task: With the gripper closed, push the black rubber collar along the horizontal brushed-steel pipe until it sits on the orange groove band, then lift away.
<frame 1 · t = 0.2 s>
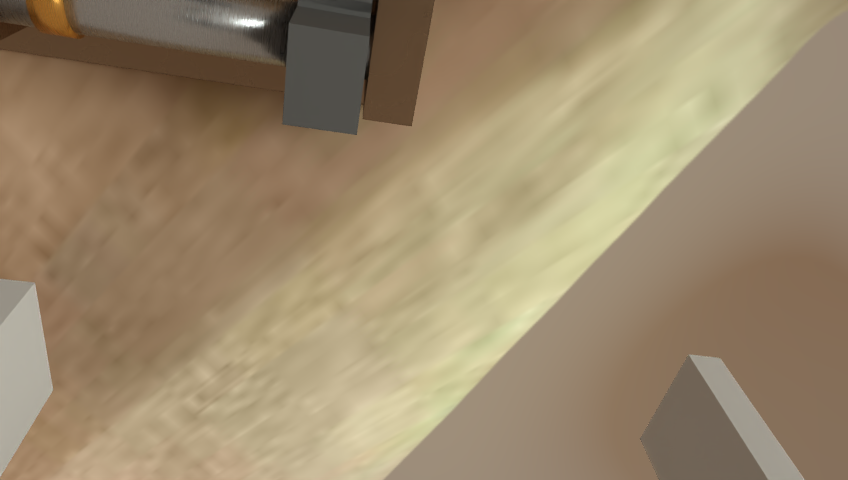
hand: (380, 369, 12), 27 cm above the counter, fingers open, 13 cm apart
collar: (331, 50, 27), point 8 cm above the counter, slide at 0.0 cm
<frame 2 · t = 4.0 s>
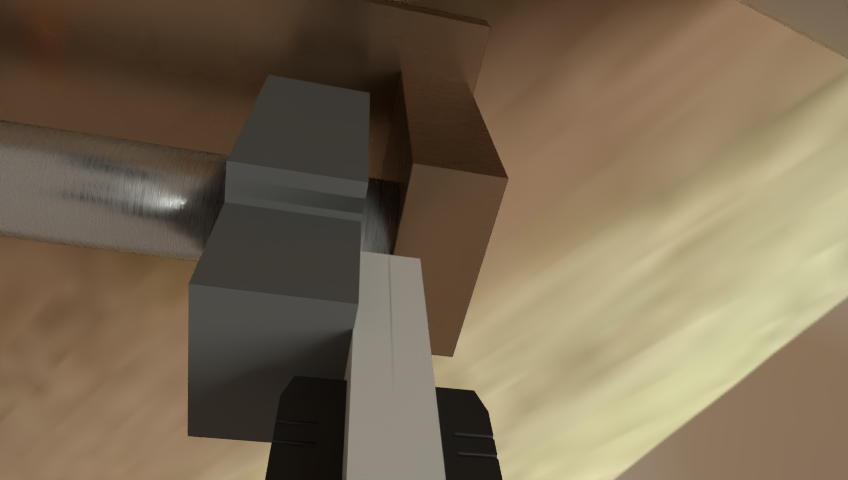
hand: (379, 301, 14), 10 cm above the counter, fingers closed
collar: (293, 249, 16), point 9 cm above the counter, slide at 0.8 cm, touching gripper
pipe rig: (146, 98, 22), on the counter
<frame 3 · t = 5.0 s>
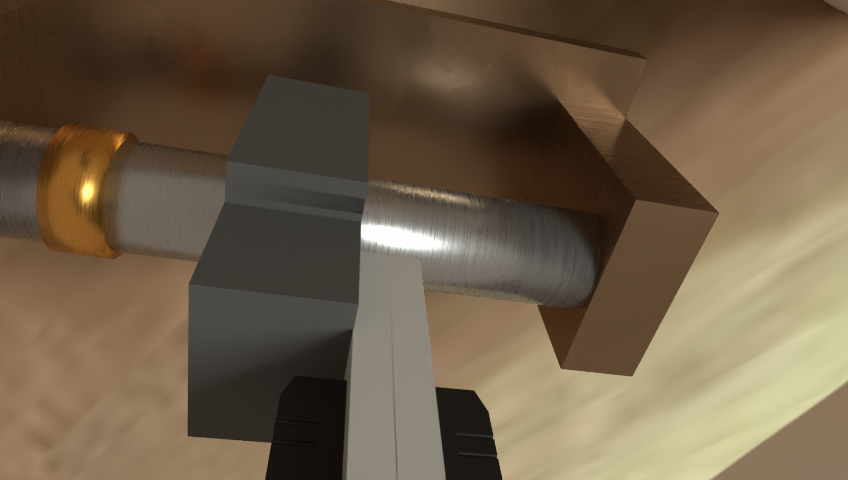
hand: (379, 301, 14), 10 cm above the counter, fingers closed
collar: (293, 249, 16), point 8 cm above the counter, slide at 6.7 cm, touching gripper
pipe rig: (308, 125, 23), on the counter
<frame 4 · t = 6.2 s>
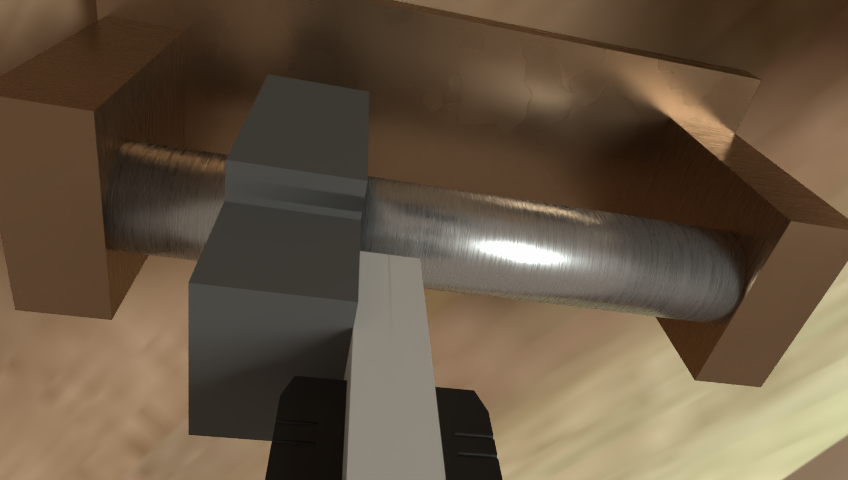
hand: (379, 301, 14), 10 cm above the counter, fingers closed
collar: (293, 248, 16), point 8 cm above the counter, slide at 11.2 cm, touching gripper
pipe rig: (426, 144, 23), on the counter
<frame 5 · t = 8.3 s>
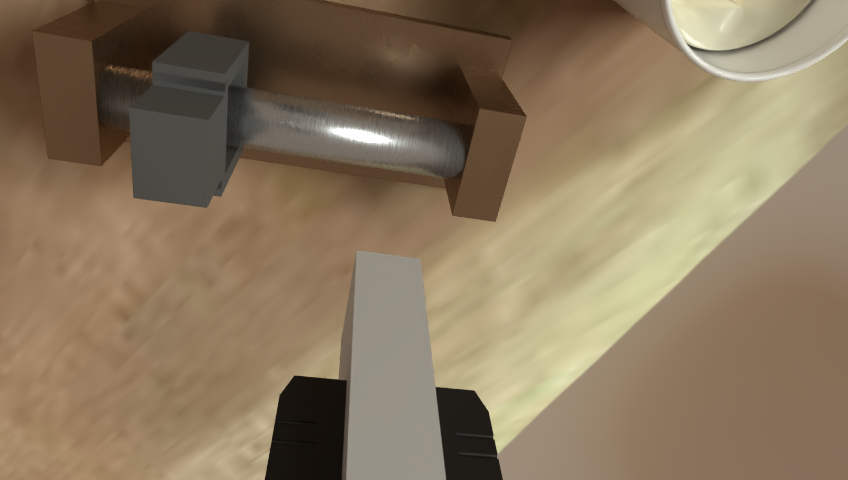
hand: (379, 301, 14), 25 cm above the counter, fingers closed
collar: (197, 121, 28), point 8 cm above the counter, slide at 11.4 cm
pipe rig: (306, 84, 36), on the counter
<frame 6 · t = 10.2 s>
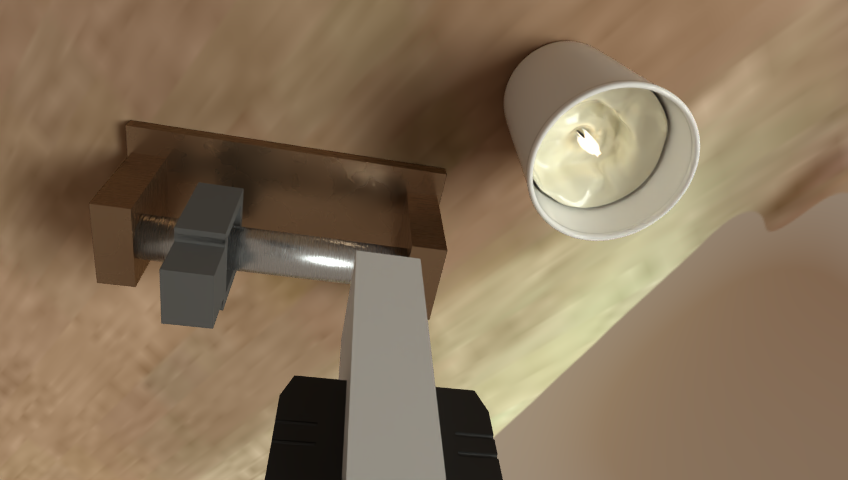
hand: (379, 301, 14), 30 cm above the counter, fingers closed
collar: (205, 257, 39), point 9 cm above the counter, slide at 11.4 cm
pipe rig: (289, 204, 47), on the counter
candle holder: (558, 96, 44), on the counter
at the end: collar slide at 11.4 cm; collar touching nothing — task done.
